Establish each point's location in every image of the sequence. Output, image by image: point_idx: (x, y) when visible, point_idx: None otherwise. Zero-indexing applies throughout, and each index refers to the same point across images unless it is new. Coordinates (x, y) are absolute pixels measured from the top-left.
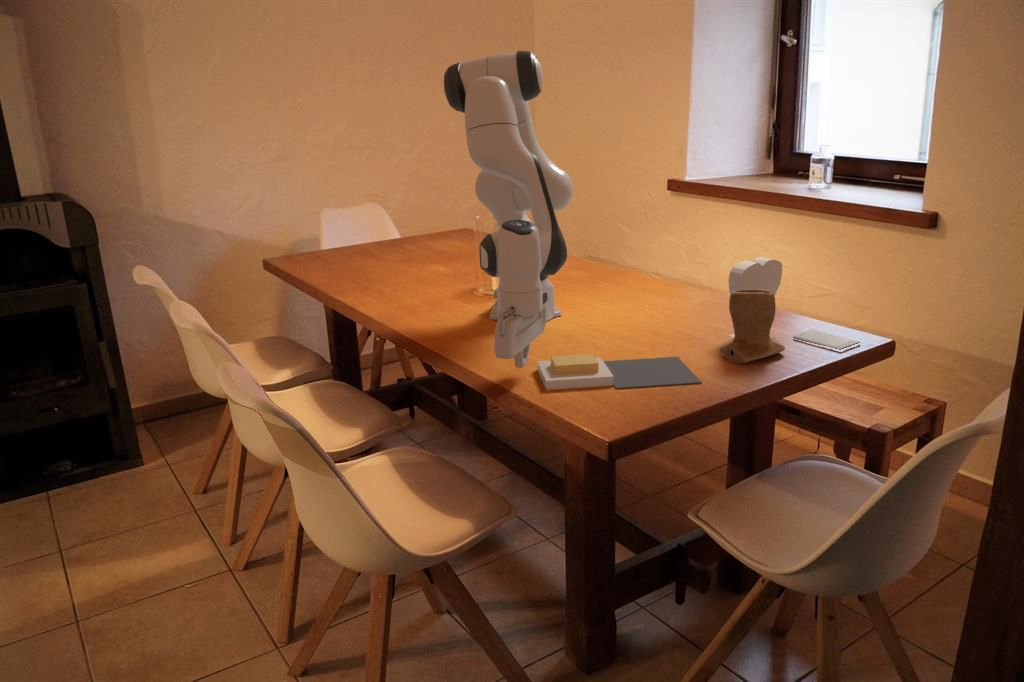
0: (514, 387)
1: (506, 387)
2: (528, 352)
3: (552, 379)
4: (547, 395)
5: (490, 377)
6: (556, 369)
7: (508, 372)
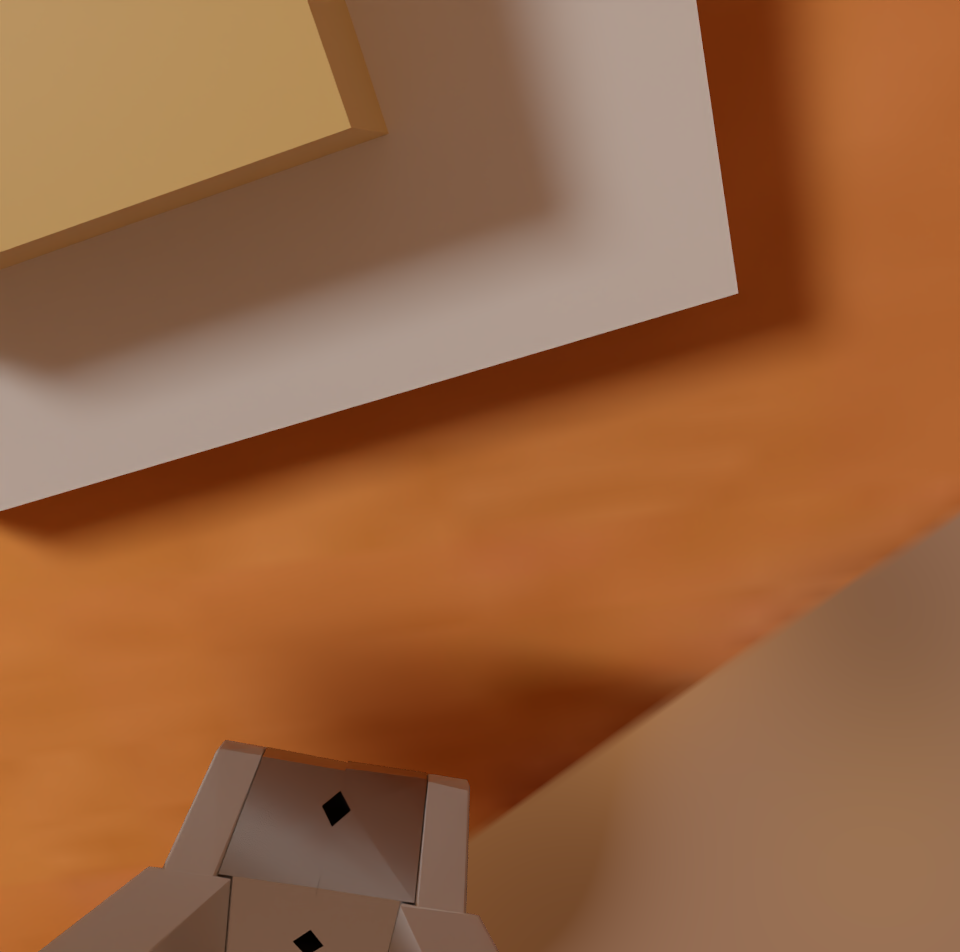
0: (595, 661)
1: (599, 730)
2: (86, 926)
3: (665, 170)
4: (910, 212)
5: None
6: (362, 108)
7: (142, 771)
